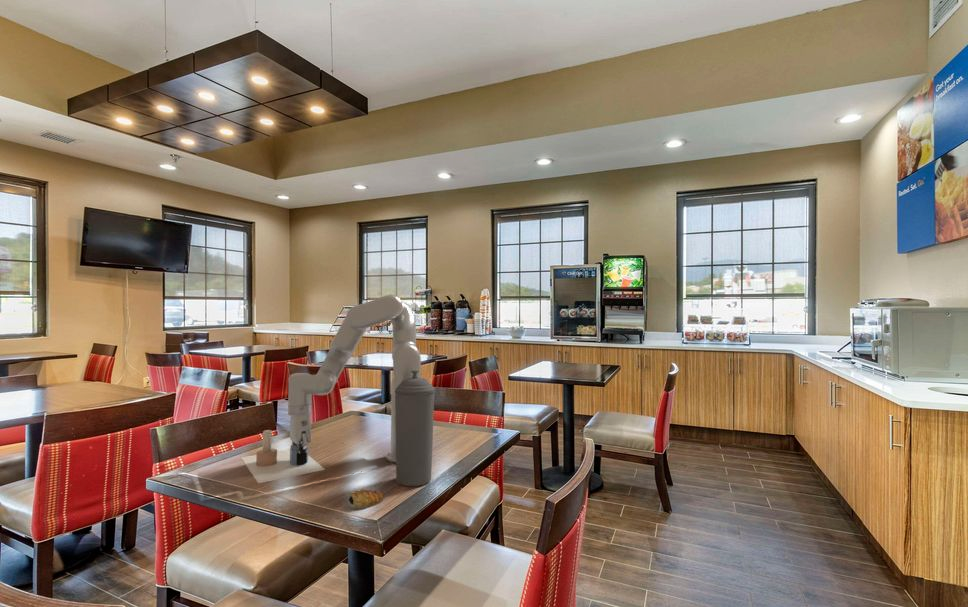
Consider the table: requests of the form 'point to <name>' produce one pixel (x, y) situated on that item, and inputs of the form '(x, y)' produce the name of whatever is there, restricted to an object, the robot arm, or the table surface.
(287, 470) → the board
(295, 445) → the cap
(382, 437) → the table surface
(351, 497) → the pastry
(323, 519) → the table surface
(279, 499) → the table surface
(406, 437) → the canister
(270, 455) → the round stamp handle
